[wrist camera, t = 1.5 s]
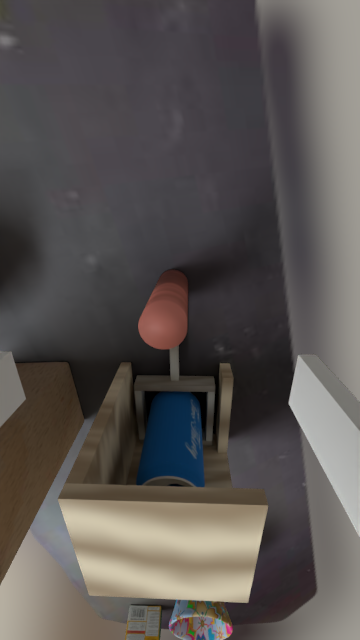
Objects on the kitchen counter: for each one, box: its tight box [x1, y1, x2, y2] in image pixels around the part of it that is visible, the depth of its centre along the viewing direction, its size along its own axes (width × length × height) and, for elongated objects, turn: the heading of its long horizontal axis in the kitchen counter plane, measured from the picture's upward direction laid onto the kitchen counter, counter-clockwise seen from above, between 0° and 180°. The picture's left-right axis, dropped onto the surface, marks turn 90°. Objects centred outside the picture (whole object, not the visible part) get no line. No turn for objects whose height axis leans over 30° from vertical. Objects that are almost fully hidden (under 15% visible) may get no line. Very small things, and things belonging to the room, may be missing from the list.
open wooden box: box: [58, 362, 268, 603], centre depth 25 cm, size 13×13×16 cm
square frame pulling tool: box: [134, 269, 215, 445], centre depth 25 cm, size 23×10×11 cm, turn 1°
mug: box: [169, 599, 233, 640], centre depth 41 cm, size 12×9×11 cm
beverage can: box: [136, 391, 205, 487], centre depth 27 cm, size 6×6×12 cm
